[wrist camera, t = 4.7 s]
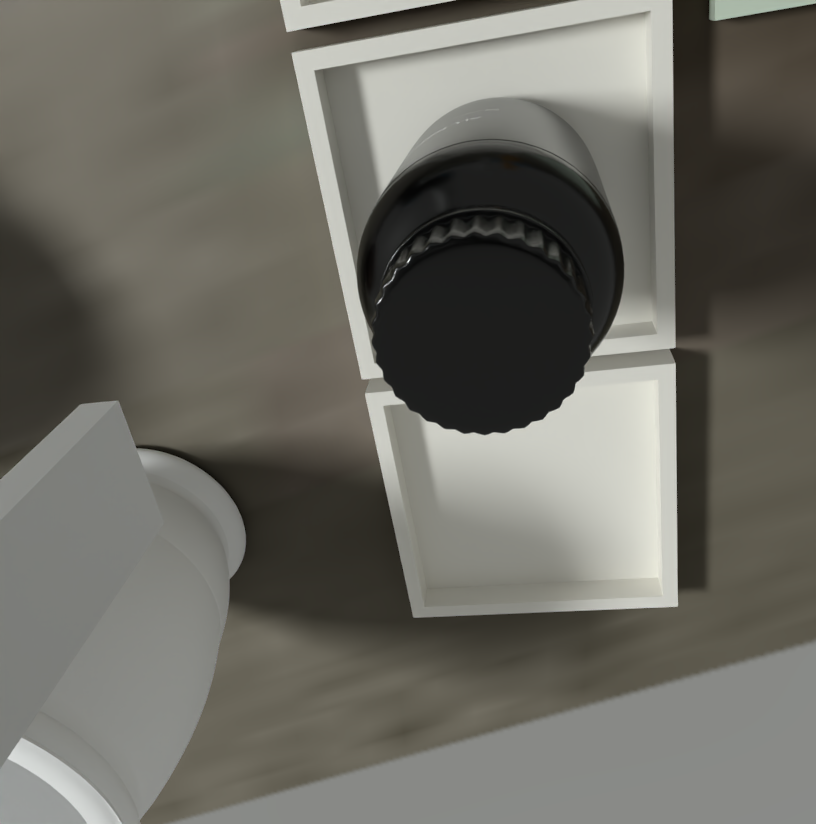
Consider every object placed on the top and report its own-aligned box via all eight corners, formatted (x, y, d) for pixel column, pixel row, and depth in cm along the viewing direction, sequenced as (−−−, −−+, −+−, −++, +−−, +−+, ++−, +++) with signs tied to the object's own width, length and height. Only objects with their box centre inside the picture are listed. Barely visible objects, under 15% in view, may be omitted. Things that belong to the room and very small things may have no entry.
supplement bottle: (440, 60, 25) (387, 116, 15) (634, 141, 25) (718, 252, 15) (371, 253, 28) (288, 411, 18) (544, 321, 29) (561, 515, 18)
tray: (370, 377, 31) (364, 393, 30) (668, 347, 29) (675, 363, 28) (416, 596, 36) (413, 617, 35) (671, 584, 34) (677, 606, 33)
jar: (274, 445, 33) (119, 746, 20) (267, 623, 38) (139, 954, 25) (33, 405, 34) (-271, 673, 21) (58, 585, 39) (-173, 892, 26)
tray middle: (301, 49, 25) (291, 52, 24) (663, -17, 23) (672, -17, 22) (367, 363, 31) (361, 379, 30) (668, 332, 29) (675, 348, 27)
